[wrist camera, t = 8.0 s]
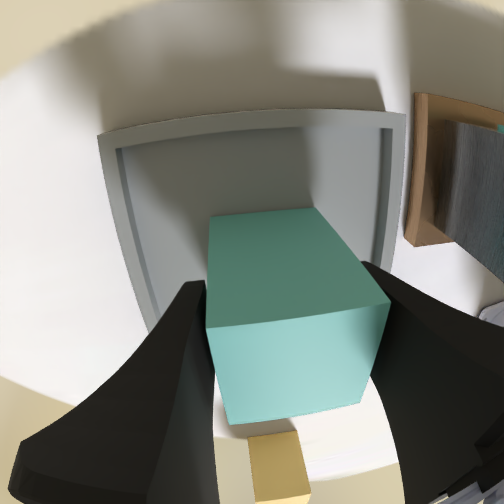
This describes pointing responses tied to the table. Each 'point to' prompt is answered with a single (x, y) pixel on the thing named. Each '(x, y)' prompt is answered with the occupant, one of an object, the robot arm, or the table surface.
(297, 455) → the ochre block
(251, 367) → the teal block
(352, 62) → the table surface
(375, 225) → the slate tray
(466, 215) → the silver unit
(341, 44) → the table surface
